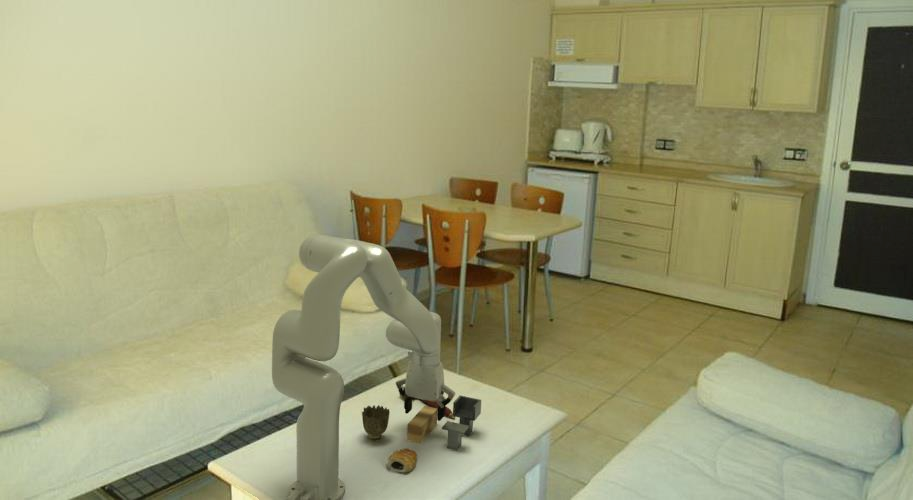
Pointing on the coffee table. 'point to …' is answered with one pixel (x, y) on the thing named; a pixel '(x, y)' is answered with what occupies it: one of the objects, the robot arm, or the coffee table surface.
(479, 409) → the cup bracket
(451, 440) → the grey tabbed slab
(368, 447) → the coffee table surface
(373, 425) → the cup
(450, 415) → the gavel
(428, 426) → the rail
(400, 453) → the pastry
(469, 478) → the coffee table surface
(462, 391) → the coffee table surface
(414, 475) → the coffee table surface
